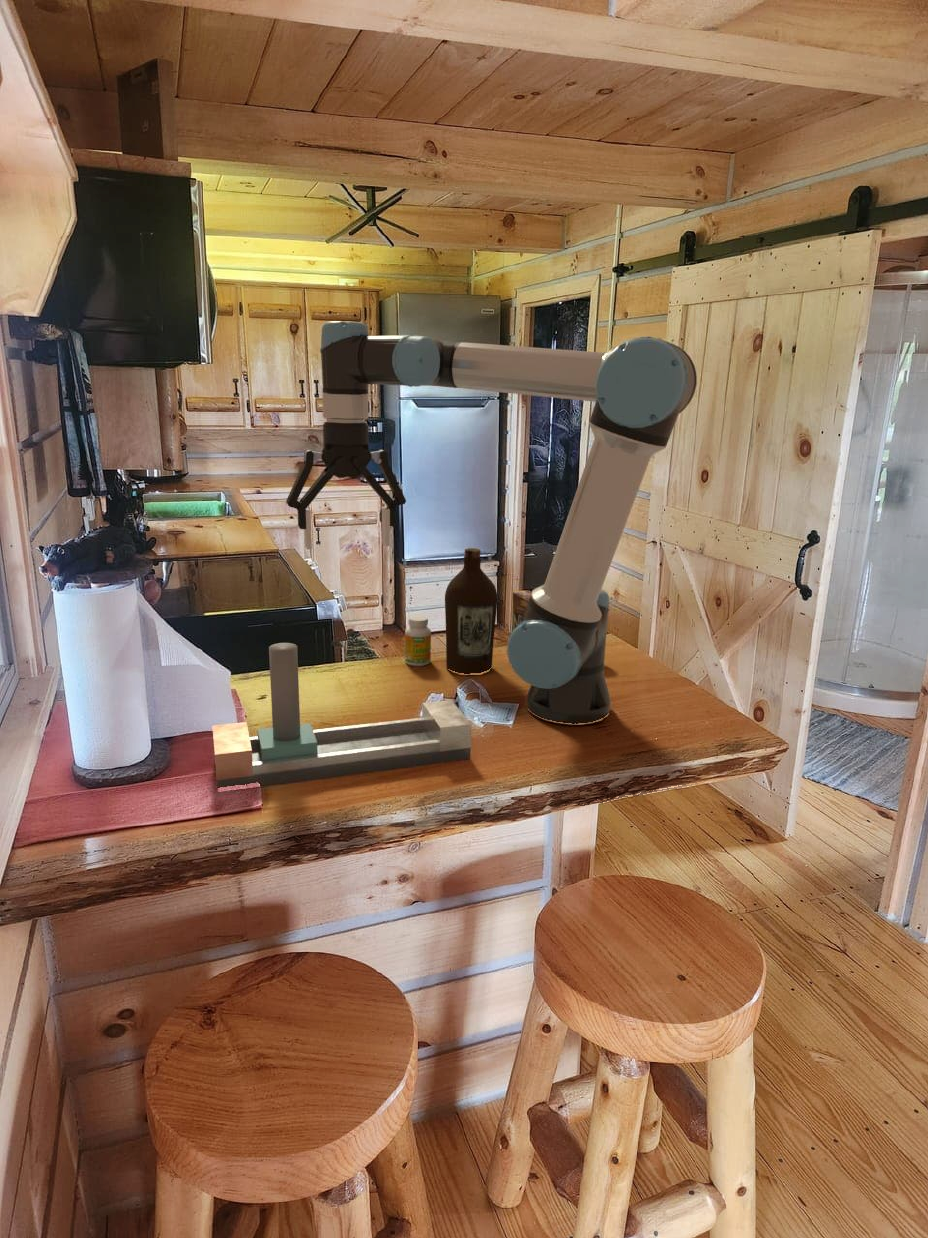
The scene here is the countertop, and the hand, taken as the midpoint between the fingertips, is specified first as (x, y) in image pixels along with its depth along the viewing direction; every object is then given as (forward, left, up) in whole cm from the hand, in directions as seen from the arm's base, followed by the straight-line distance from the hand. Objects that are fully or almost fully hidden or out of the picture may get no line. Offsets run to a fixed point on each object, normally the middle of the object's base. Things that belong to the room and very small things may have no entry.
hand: (347, 546), depth 137 cm
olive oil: (-20, -20, -29) cm, 40 cm away
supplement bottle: (-9, -22, -29) cm, 37 cm away
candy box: (-32, -24, -29) cm, 49 cm away
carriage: (+3, +28, -26) cm, 38 cm away
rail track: (-5, +24, -29) cm, 38 cm away
